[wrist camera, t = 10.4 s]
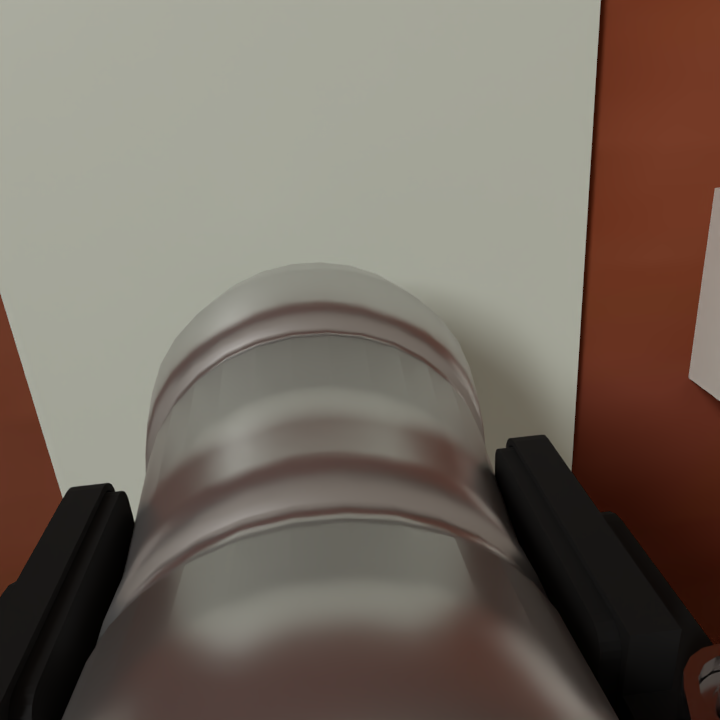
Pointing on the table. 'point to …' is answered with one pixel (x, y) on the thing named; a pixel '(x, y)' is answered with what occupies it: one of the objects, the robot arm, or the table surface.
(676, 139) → the table surface
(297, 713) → the metal bottle
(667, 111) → the table surface
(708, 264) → the lettered cube
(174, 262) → the sage mat
